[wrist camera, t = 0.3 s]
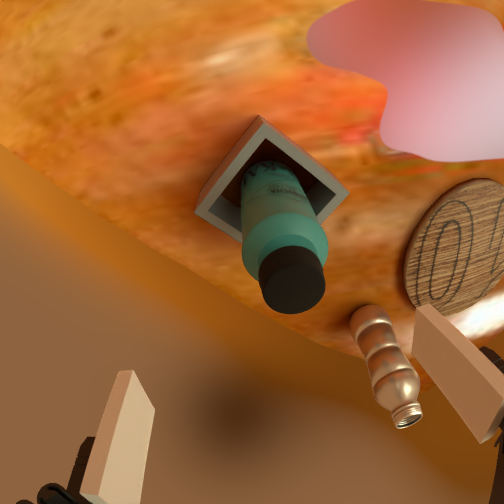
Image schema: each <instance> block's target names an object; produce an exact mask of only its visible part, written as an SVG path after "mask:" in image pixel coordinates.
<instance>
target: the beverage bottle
mask: <svg viewBox="0 0 504 504" xmlns="http://www.w3.org/2000/svg"><path fill="white" fill-rule="evenodd" d="M282 163H283V162H282ZM282 163H280V161H279V162H277V161H276V160H275V161H266V160H265V161H263V162H260V163H259V162H258V164H256V165H254V166H253V165H252V167H251V168H250V169H249V170H248V171H247V172H246V173H244V174H245V175H244V176H243V180H242V183H241V201H240V202H241V221H242V260H243V263H244V266H245V268H246V270H247V271H248V272H249V274H250V275H251V276H252V277H253V278H254V279H256V280H257V281H259V285H260V288H261V290H262V295H263V298H264V300H265V302H266V303H267V305H268V306H269V307H270V308H272V309H273V310H275V311H277V312H280V313H284V314H297V313H301V312H304V311H307V310H309V309H311V308H312V307H314V306H315V305H316V304H317V303H318V302H319V301H320V300H321V298H322V297H323V295H324V292H325V278H324V275H323V268H322V267H323V266H324V264H325V262H326V259H327V255H328V241H327V237H326V234H325V232H324V230H323V229H322V227H321V226H320V224H319V222H318V220H317V217H316V215H315V213H314V211H313V209H312V207H313V206H312V205H311V204H310V202H309V200H308V199H307V197H306V195H305V194H306V193H304V191H305V190H304V188H302V187H303V186H302V187H301V186H300V184H299V182H300V180H297V179H298V178H297V177H296V176H295V174H296V173H293V171H294V170H293V171H292V170H291V169H290V168H291V167H290V168H289V166H288V167H287V166H286V165H285V163H284V164H282ZM298 181H299V182H298ZM300 183H301V182H300ZM301 185H302V184H301ZM303 190H304V191H303ZM239 200H240V191H239ZM239 205H240V204H239ZM311 206H312V207H311ZM313 208H314V207H313ZM239 209H240V208H239ZM316 213H317V212H316ZM239 215H240V214H239ZM239 220H240V219H239Z"/></svg>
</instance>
